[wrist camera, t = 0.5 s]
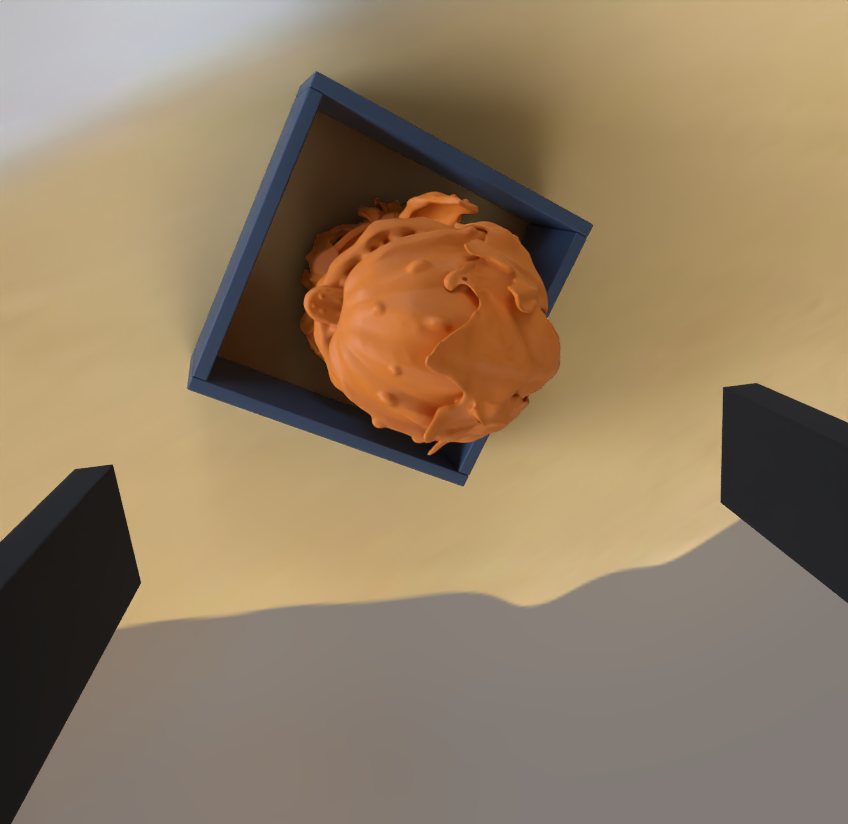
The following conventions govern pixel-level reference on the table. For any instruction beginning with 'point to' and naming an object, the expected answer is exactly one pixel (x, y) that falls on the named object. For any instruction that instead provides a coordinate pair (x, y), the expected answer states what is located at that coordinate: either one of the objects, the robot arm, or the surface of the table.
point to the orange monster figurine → (429, 319)
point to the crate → (209, 373)
